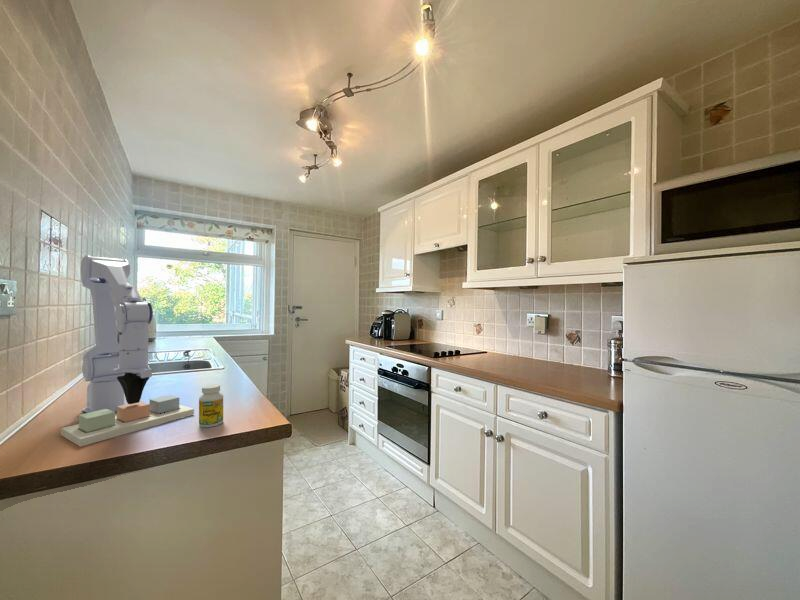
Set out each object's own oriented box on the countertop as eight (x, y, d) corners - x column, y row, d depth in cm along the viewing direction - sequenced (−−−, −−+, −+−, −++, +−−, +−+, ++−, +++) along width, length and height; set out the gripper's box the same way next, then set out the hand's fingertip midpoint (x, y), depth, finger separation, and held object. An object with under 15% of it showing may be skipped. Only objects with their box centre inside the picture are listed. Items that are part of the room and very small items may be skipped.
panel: (61, 435, 75) (61, 428, 75) (171, 407, 95) (171, 402, 95) (80, 446, 69) (80, 439, 69) (193, 414, 89) (193, 408, 89)
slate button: (149, 410, 87) (149, 399, 87) (170, 405, 91) (170, 394, 91) (158, 413, 84) (158, 402, 84) (179, 408, 89) (179, 397, 89)
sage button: (78, 427, 75) (78, 414, 75) (106, 421, 79) (106, 408, 79) (86, 432, 72) (86, 418, 72) (114, 424, 77) (115, 412, 77)
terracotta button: (116, 418, 81) (116, 406, 81) (140, 412, 85) (140, 401, 85) (125, 422, 78) (125, 409, 78) (149, 416, 83) (149, 404, 83)
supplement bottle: (222, 418, 86) (222, 382, 86) (224, 425, 81) (224, 386, 81) (198, 422, 83) (198, 385, 83) (199, 429, 78) (199, 390, 78)
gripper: (102, 349, 82) (101, 402, 82) (127, 353, 75) (126, 412, 75) (135, 346, 88) (135, 395, 88) (161, 349, 81) (161, 404, 81)
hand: (133, 403), depth 82 cm, fingers closed
